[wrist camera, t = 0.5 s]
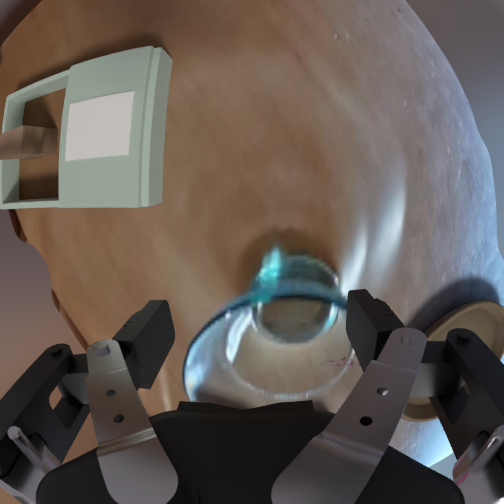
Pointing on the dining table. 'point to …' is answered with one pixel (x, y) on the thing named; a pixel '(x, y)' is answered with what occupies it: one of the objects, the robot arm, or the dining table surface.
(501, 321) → the brown flat ring
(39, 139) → the wood block
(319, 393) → the dining table surface
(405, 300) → the dining table surface
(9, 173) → the box
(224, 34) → the dining table surface
